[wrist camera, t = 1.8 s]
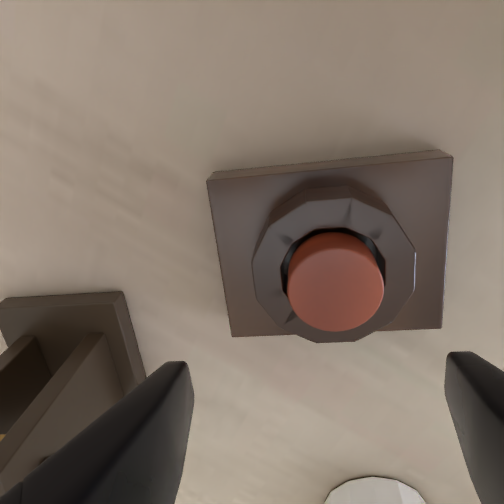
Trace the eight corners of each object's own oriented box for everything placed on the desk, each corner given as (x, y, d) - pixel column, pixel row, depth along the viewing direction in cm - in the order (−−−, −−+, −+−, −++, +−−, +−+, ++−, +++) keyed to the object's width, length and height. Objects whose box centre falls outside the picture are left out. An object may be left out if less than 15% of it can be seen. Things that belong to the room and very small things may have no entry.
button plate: (440, 149, 18) (471, 165, 14) (431, 310, 21) (455, 352, 18) (213, 171, 19) (196, 191, 16) (236, 319, 22) (225, 360, 19)
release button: (376, 227, 16) (384, 244, 15) (376, 307, 18) (384, 330, 16) (284, 234, 17) (283, 251, 15) (291, 311, 18) (291, 334, 16)
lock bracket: (5, 297, 23) (-179, 438, 14) (123, 290, 22) (4, 437, 13) (49, 407, 26) (-80, 580, 17) (154, 405, 25) (75, 588, 16)
